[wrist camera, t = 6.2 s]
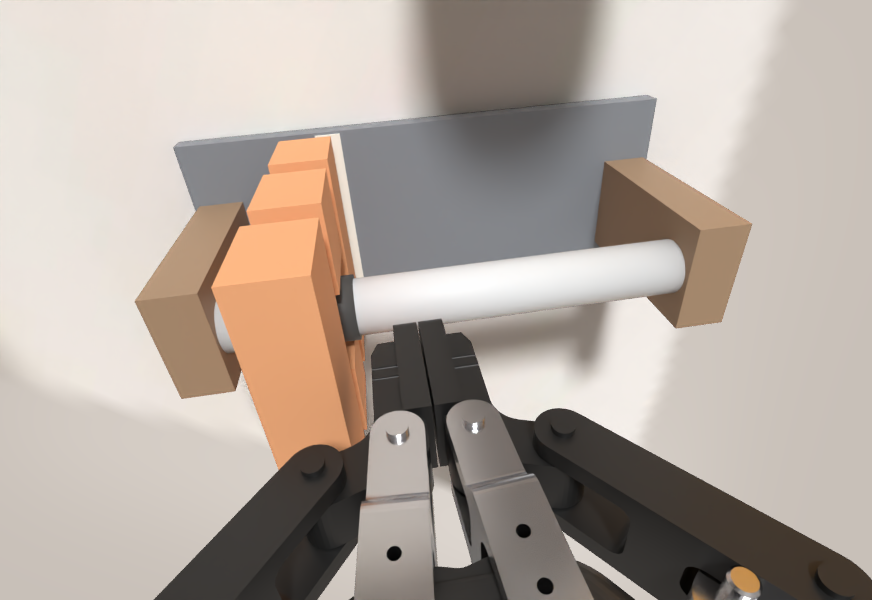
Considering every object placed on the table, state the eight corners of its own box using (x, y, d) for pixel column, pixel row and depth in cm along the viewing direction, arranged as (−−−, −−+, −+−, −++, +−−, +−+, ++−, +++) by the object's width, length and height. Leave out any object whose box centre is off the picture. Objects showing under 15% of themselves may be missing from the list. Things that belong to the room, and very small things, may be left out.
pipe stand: (241, 321, 25) (199, 448, 18) (179, 142, 20) (90, 225, 13) (618, 271, 27) (710, 371, 20) (647, 95, 22) (782, 147, 15)
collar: (322, 327, 24) (304, 539, 15) (278, 141, 19) (210, 287, 10) (363, 321, 24) (370, 527, 15) (330, 136, 19) (310, 275, 10)
